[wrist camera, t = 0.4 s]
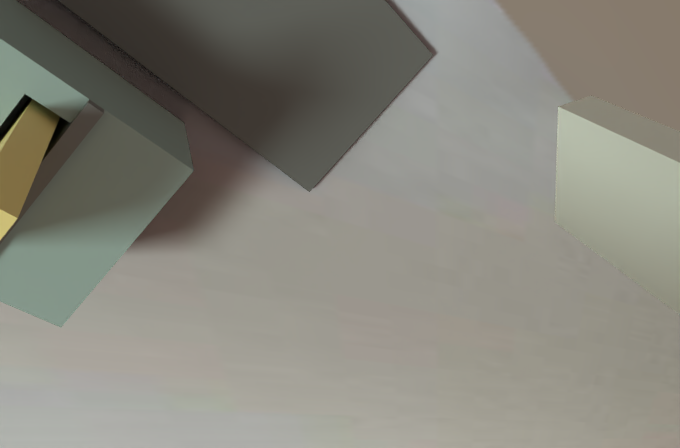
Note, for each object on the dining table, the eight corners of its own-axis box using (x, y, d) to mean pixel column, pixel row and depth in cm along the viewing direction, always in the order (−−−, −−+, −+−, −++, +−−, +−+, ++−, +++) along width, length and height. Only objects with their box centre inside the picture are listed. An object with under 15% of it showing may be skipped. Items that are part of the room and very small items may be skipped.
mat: (12, -37, 29) (9, -37, 28) (163, -250, 27) (164, -254, 26) (307, 188, 40) (309, 192, 40) (429, 53, 38) (432, 55, 38)
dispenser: (-167, 130, 30) (-265, 198, 23) (-46, -45, 28) (-111, -32, 21) (75, 254, 37) (59, 334, 30) (184, 123, 35) (194, 175, 28)
